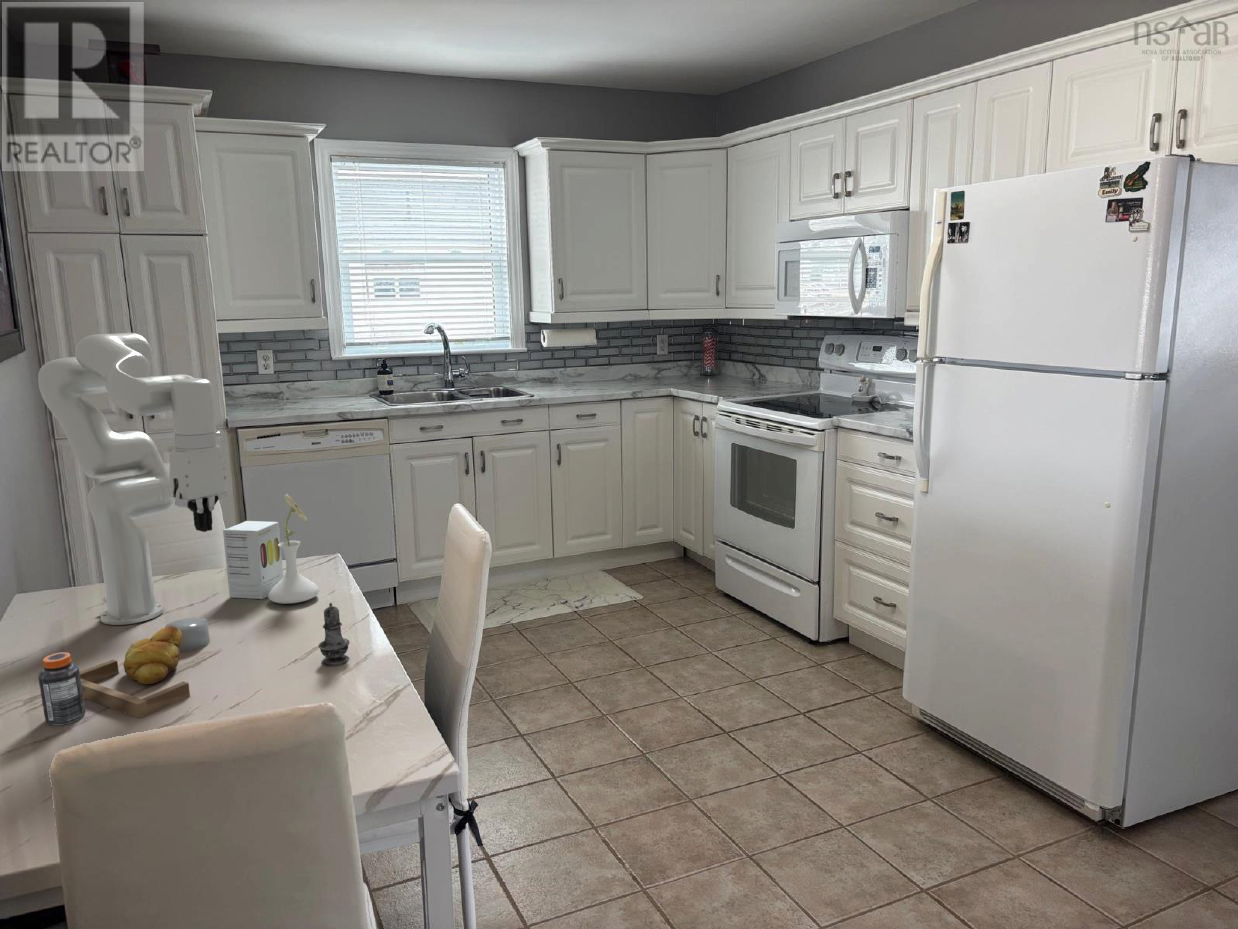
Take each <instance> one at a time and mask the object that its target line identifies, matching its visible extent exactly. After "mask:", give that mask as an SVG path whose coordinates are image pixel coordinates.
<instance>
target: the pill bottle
mask: <svg viewBox="0 0 1238 929" xmlns="http://www.w3.org/2000/svg"><path fill="white" fill-rule="evenodd" d="M42 666H43V669H42V670H41V671H40V672H39V674H38V684H39V689H40V697H41V702H42V709H43V716H44V719H45V720H44V721H45V723H46V724H48V725H50V726H62V725H66V724H71V723H74V722H76V721H79V720H80V719H81V718H83V717H84V716H85V715H86V705H85V700H84V699H85V698H84V697H83V691H82V684H81V678H80V668H79V666H78V664H76V663H72V657H71V654H70V652H64V651H63V652H56V653H52V654H50V655H49V654H48V655H47V656H45V657H44V658H43V659H42Z"/></svg>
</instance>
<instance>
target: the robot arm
mask: <svg viewBox="0 0 1238 929" xmlns="http://www.w3.org/2000/svg"><path fill="white" fill-rule="evenodd" d="M74 350H75V351H74V355H75V356H70V357H63V358H57V359H53V360H50V361H48V362H47V361H46V363H44V364H43V365H42V366H41V367H40V369H39V372H38V376H37V377H38V378H37V379H38V380H37V382H38V388H39V392H40V395H41V398H42V399H43V401H44V403H45V405H46V407H47V408H48V410H49V411H50V412H51V414H52V415H53V416H54V417H55V418H56V420H57V421H58V423H59V425H60V426H61V427H62V430H63V431H64V434H65V436H66V439H67V440H68V443H69V445H70V447H71V450H72V453H73V455H74V457H75V459H76V461H77V463H78V465H79V467H80V468H81V470H82V472H83V473H84V475H86V476H87V477H89V478H91V479H101V478H109V477H115V476H120V475H121V476H122V475H127V474H133V475H127V476H123V477H121V476H120V477H117V478H111V479H107V480H104V481H101V482H99V483H97V484H95V485H93V486H92V488H91V489H90V490H89V492H88V495H87V504H88V508H89V511H90V514H91V517H92V519H93V524H94V527H95V530H96V535H97V540H98V547H99V553H100V561H101V569H102V576H103V584H104V591H105V597H103V598H102V604H103V603H104V604H106V608H107V610H105V611H103V612H102V613H101V615H100V621H101V622H102V623H103V624H105V625H111V626H123V625H124V626H125V625H131V624H138V623H142V622H145V621H146V622H147V621H149V620H151V619H155V618H157V617H159V616H160V615H162V613H163V612H164V611H165V608H164V605H163V604H162V603H161V602H157V601H156V597H155V590H154V588H155V587H154V582H153V572H152V571H153V570H152V564H151V563H152V562H151V556H150V547H149V540H148V537H147V535H146V533H145V531H143V530H142V529H141V527H139V526H138V525H137V524H136V523H135V520H136V519H140V518H144V517H148V516H154V515H157V514H158V515H159V514H162V513H165V512H167V511H168V510H170V509H172V508H173V506H174V505H175V507H179V508H187V509H189V511H190V512H191V513H192V515H193V524H194V527H195V530H196V531H199V532H202V533H206V532H208V531H212V530H213V513H212V512H213V511H214V510H215V506H216V504H217V502H218V501H220V500H222V499H223V498H225V497H227V490H228V476H227V469H226V463H225V459H224V456H223V455H224V454H223V451H222V448H221V446H220V445H218V439H221V438H222V434H221V432H220V431H217V426H216V415H215V412H216V411H215V402H214V388H213V384H212V383H211V381H210V380H209V379H207V378H199V377H198V378H197V377H195V378H194V377H193V376H192V375H188V374H184V373H183V374H181V373H180V374H179V373H178V374H170V375H169V374H168V375H159V376H158V375H155V376H149V375H150V372H151V366H150V365H151V363H152V361H153V350H152V347H151V344H150V343H149V342H148V340H147V339H146V337H143V335H140V334H138V333H135V332H121V333H120V332H117V333H96V334H91V335H87V336H86V337H84V338H82V339H81V340H79V341H78V343H77V345H76V346H75V349H74ZM105 393H107V394H108V397H109V398H110V401H111V402H112V403H113V405H115V406H116V407H117V408H120V409H121V410H123V411H124V412H125V413H129V414H130V415H133V416H138V417H146V416H147V417H148V416H155V415H162V414H164V415H165V414H169V413H170V414H171V413H172V419H173V420H172V422H173V432H174V433H173V434H174V442H175V443H174V444H175V449H172V450H171V452H170V453H171V454H170V461H169V471H168V469H167V468H166V465H165V462H164V461H163V458H162V456H161V454H160V452H159V449H158V448H157V445H156V442H154V440H153V439H152V438H151V437H150V436H149V435H148V434H147V433H146V432H143V431H140V430H127V431H120V432H115V431H114V430H112V429H111V427H110V426H109V425H110V424H108V421H107V419H106V417H105V415H104V414H103V412H102V411H101V410H100V409H98V408H97V407H96V406H95V405H94V404H93V403H91V402H89V401H87V400H85V399H84V398H82V396H84V395H87V396H88V395H95V394H105Z"/></svg>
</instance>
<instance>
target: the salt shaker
mask: <svg viewBox="0 0 1238 929" xmlns="http://www.w3.org/2000/svg"><path fill="white" fill-rule="evenodd" d="M323 617H324V618H323V620H324V624H323V625H322V628H323V629H324V640H323V641H320V642H319V644H318V646H317V647H318V648H319V650H320V653H321V654H322V655H323V656H324V658H323V659H322V660H321V665H322V666H325V667H337V666H341V665H342V666H343V665H345V664H347V663H348V662H350V657H349V656H348V655H346V653H347V652H348V650H349V645H350V640H349V639H348V638H345V637H343V635H342V628H341V626H343V623H342V622H341V619H340V610H339V608H338V606H337V607H336V606H334V605H333V603H332V602H329V604H328V607H326V608H325V609H324V610H323Z"/></svg>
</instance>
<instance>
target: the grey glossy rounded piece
mask: <svg viewBox="0 0 1238 929" xmlns="http://www.w3.org/2000/svg"><path fill="white" fill-rule="evenodd" d="M208 623H209V622H208V620H207V619H206V618H203V617H187V618H181V619H177V620H174V621H172V622H170V623H168V624H166V625H165V626H164V628H165V627H168V626H174V627H176V628H178V629H179V630H180V631H181V633H182V639H181V645H180V649H179V651H180V653H186V652H193V651H196V650H200V649H203V648H205V647H207V645H209V644H210V631H209V630H210V629H209V624H208Z"/></svg>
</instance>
